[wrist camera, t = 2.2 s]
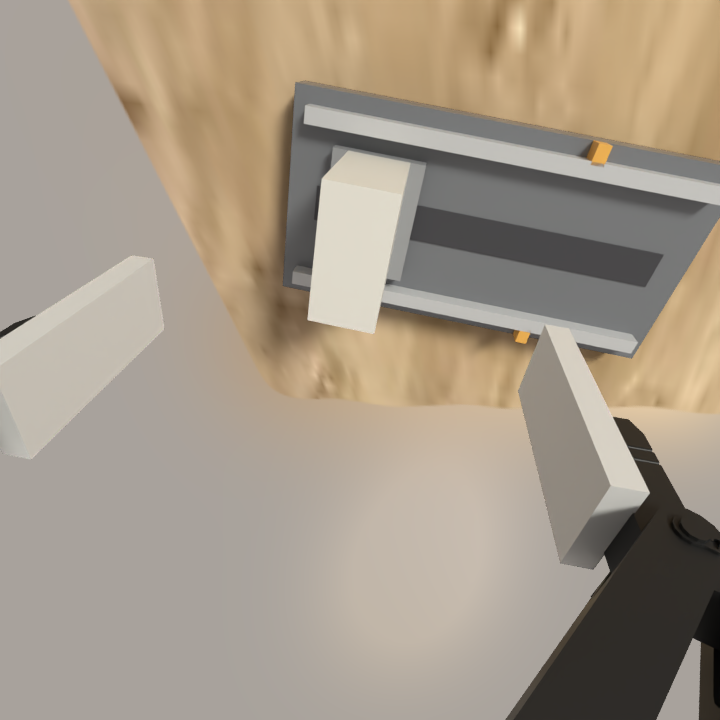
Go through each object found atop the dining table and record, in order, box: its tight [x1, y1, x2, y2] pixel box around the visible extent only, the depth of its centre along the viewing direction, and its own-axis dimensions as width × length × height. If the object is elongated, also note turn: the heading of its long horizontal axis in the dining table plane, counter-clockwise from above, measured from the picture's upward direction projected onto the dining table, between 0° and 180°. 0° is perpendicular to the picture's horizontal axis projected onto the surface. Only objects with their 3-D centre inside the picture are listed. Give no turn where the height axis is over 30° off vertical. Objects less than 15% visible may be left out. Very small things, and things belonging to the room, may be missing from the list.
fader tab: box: [307, 145, 426, 334], centre depth 28 cm, size 6×8×9 cm
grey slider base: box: [283, 81, 720, 358], centre depth 32 cm, size 28×14×4 cm, turn 81°
